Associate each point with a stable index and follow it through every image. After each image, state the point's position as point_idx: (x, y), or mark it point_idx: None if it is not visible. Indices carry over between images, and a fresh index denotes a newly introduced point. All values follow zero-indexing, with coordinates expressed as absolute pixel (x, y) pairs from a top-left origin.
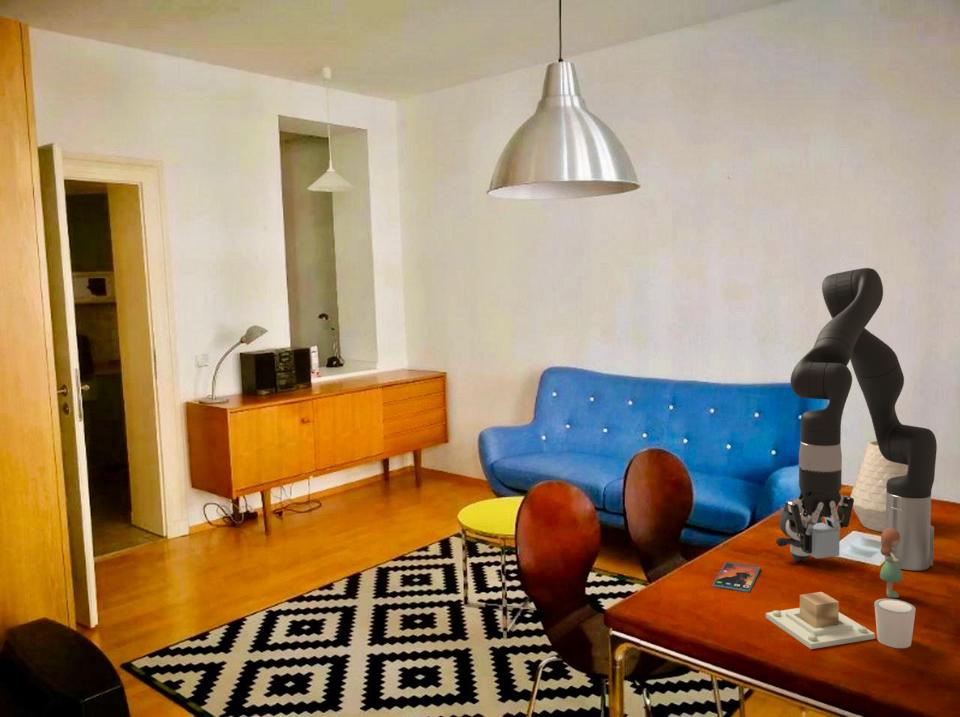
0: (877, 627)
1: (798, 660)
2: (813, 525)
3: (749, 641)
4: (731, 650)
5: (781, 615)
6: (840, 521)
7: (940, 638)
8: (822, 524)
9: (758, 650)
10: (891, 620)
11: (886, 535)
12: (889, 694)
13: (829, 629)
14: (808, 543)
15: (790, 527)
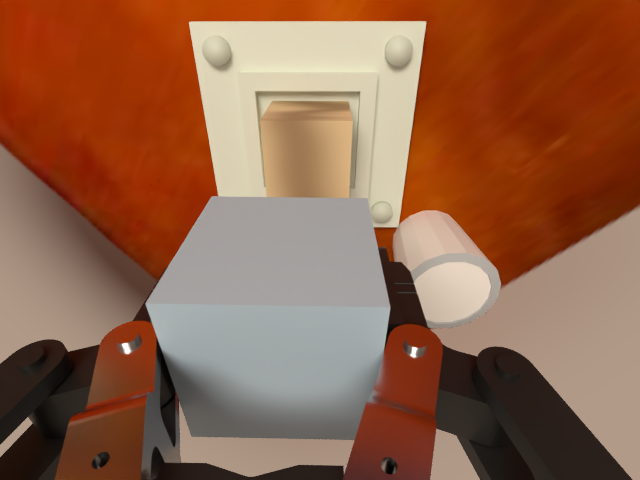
0: (399, 246)
1: (177, 247)
2: (177, 451)
3: (95, 147)
4: (39, 173)
5: (231, 58)
6: (468, 430)
7: (525, 256)
8: (353, 339)
9: (105, 191)
10: None
11: None
12: None
13: None
14: None
15: (12, 359)
